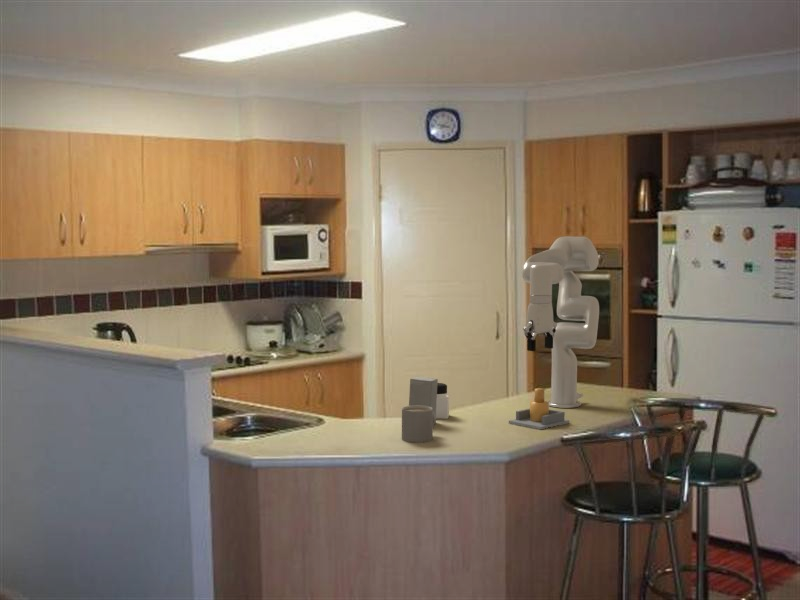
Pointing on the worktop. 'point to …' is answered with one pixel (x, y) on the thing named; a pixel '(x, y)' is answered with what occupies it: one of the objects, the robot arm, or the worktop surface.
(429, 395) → the skincare box
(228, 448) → the worktop surface
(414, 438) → the coffee mug
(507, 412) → the worktop surface
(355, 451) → the worktop surface
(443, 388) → the medicine bottle
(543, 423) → the u rest
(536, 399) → the amber bottle
